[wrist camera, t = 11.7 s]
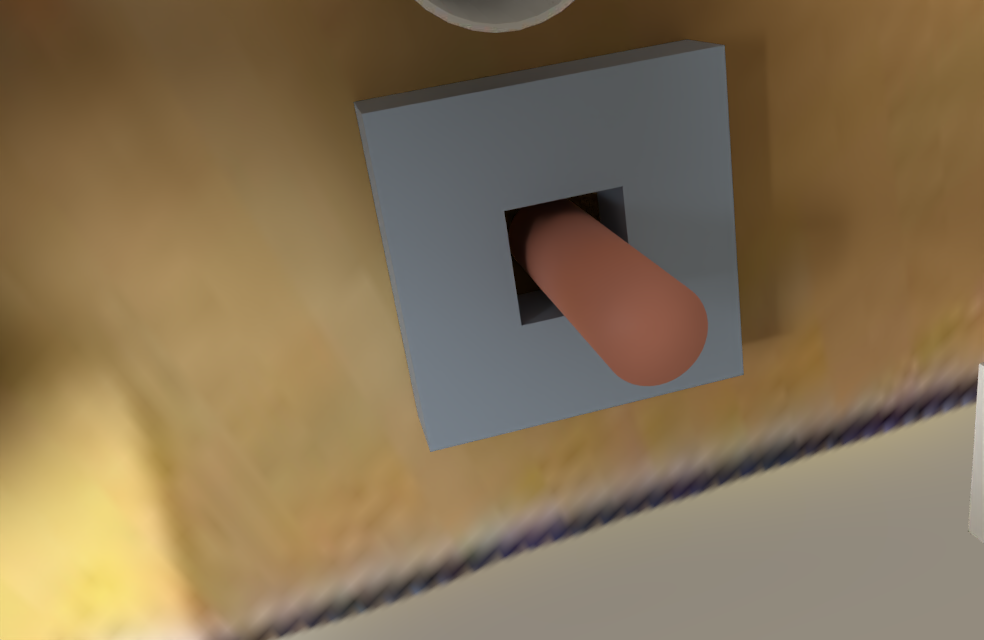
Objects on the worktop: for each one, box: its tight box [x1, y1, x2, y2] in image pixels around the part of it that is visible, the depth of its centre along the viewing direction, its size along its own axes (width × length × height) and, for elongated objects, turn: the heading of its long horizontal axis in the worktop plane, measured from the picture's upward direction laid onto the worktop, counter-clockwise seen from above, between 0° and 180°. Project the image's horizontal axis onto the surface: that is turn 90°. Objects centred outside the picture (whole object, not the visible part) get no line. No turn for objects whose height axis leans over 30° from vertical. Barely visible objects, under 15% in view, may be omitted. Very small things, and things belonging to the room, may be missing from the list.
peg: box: [509, 198, 708, 386], centre depth 40 cm, size 4×4×14 cm
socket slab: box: [354, 40, 744, 452], centre depth 44 cm, size 16×16×4 cm
